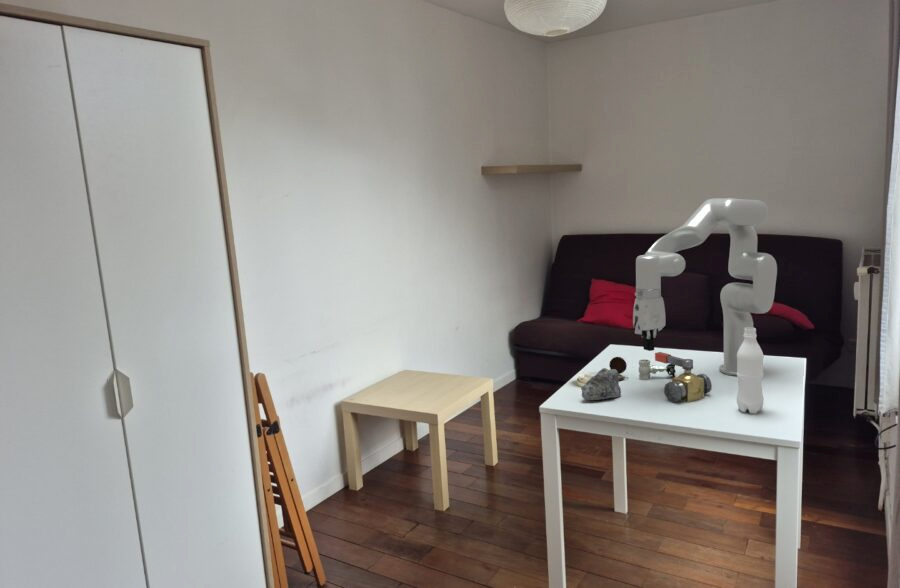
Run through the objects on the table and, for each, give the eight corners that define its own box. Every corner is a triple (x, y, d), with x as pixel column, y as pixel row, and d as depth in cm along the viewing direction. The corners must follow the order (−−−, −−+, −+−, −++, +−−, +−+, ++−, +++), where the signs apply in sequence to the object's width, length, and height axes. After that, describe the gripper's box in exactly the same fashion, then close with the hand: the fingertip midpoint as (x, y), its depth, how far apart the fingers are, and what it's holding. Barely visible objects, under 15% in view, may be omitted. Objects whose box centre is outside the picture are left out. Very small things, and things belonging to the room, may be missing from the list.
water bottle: (736, 405, 199) (736, 325, 195) (762, 407, 197) (763, 325, 193) (737, 414, 193) (736, 331, 189) (764, 415, 190) (764, 331, 186)
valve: (639, 381, 230) (675, 380, 228) (639, 363, 229) (675, 362, 226) (637, 376, 236) (672, 375, 234) (637, 358, 235) (672, 357, 233)
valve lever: (695, 368, 207) (695, 360, 207) (687, 370, 206) (687, 362, 206) (661, 359, 220) (661, 351, 220) (654, 360, 219) (653, 353, 218)
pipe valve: (694, 390, 216) (693, 362, 215) (713, 396, 209) (713, 367, 208) (662, 398, 210) (661, 370, 209) (681, 405, 203) (681, 376, 202)
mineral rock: (581, 403, 212) (580, 373, 210) (580, 393, 222) (579, 364, 220) (623, 403, 209) (622, 372, 208) (619, 392, 220) (618, 363, 218)
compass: (603, 381, 233) (602, 361, 232) (610, 374, 240) (610, 355, 239) (625, 383, 229) (625, 363, 228) (632, 376, 235) (632, 357, 234)
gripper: (638, 297, 202) (639, 355, 205) (674, 292, 209) (674, 348, 212) (622, 295, 209) (622, 351, 212) (657, 289, 216) (657, 344, 218)
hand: (648, 349), depth 212 cm, fingers closed
